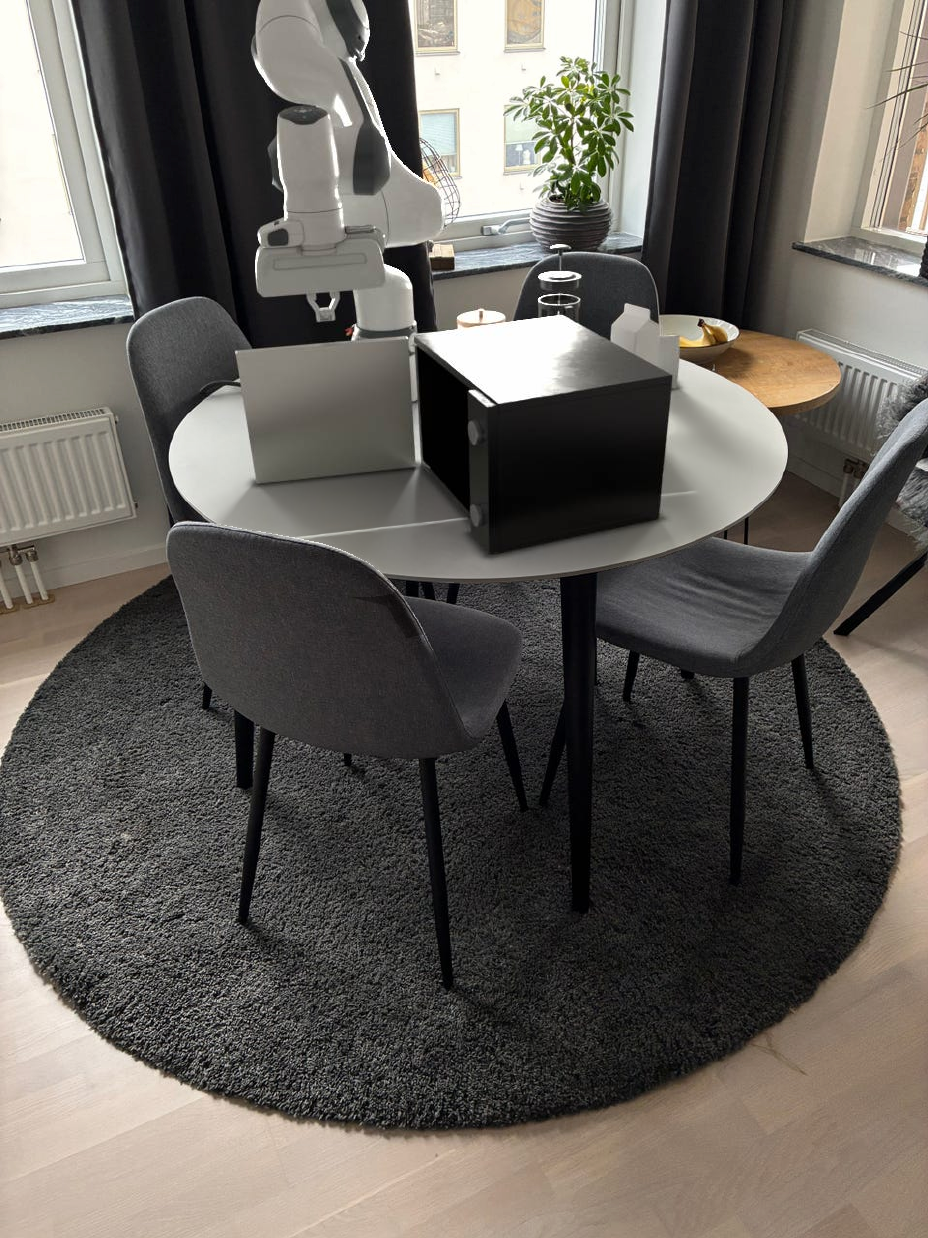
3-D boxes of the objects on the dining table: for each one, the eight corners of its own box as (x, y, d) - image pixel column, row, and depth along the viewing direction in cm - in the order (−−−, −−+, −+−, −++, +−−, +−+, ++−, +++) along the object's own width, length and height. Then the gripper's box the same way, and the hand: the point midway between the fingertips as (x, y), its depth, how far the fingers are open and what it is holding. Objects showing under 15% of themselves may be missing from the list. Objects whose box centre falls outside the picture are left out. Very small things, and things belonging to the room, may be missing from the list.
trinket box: (511, 346, 214) (511, 304, 209) (497, 360, 206) (496, 317, 200) (466, 343, 217) (465, 301, 212) (451, 357, 209) (449, 314, 203)
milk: (628, 438, 167) (637, 313, 154) (604, 429, 171) (611, 306, 158) (652, 430, 170) (663, 306, 157) (628, 420, 174) (636, 299, 161)
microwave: (484, 556, 132) (481, 406, 120) (407, 467, 159) (399, 337, 147) (659, 518, 140) (672, 374, 128) (558, 439, 167) (562, 314, 155)
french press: (529, 350, 211) (530, 242, 199) (568, 345, 213) (571, 238, 201) (548, 365, 202) (550, 253, 189) (588, 360, 204) (593, 249, 191)
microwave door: (256, 467, 160) (235, 340, 148) (409, 451, 164) (401, 326, 152) (256, 484, 154) (235, 353, 142) (415, 466, 158) (408, 338, 147)
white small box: (676, 387, 188) (681, 338, 182) (642, 389, 188) (646, 339, 182) (672, 381, 191) (677, 332, 185) (639, 383, 191) (643, 333, 185)
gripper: (380, 220, 147) (387, 309, 154) (248, 229, 144) (262, 320, 151) (386, 227, 142) (392, 319, 149) (249, 236, 138) (262, 330, 146)
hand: (325, 320), depth 150 cm, fingers closed
